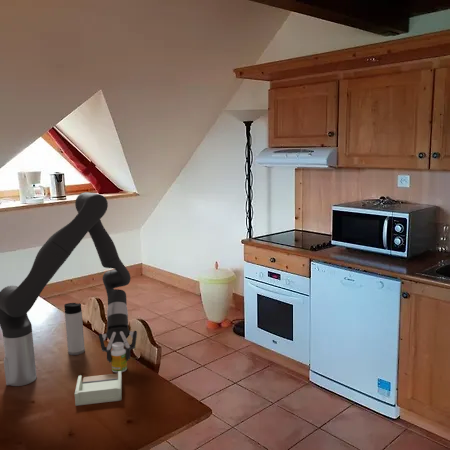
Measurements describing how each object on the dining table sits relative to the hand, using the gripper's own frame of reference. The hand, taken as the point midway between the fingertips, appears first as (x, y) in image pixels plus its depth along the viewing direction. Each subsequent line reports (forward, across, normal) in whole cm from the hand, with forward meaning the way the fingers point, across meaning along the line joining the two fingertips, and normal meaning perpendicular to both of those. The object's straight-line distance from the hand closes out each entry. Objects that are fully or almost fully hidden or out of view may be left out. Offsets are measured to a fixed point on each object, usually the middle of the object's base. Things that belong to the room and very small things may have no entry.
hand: (118, 360), depth 171 cm
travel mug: (-12, -17, +18) cm, 27 cm away
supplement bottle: (+2, 0, +4) cm, 5 cm away
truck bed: (+11, -6, -5) cm, 13 cm away
